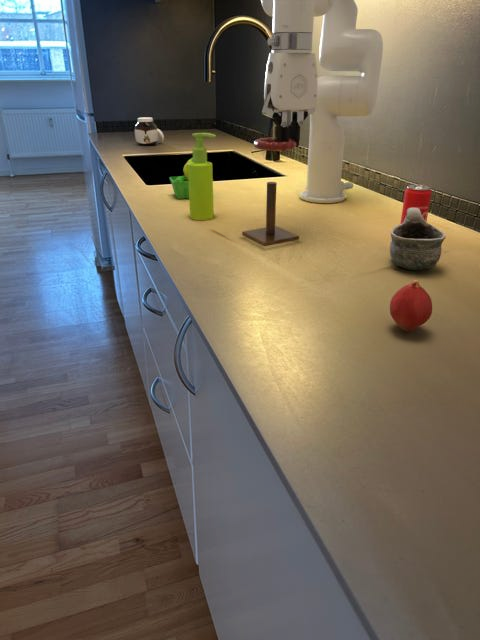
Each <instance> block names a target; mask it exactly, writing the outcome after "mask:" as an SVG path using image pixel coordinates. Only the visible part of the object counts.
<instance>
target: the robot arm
mask: <svg viewBox="0 0 480 640" xmlns="http://www.w3.org/2000/svg"><path fill="white" fill-rule="evenodd" d="M260 2H261V3H260V4H261V6H262V10H263V11H264V13H265V14H266V15H267V16H269V17H270V18H272V34H271V36H268V38H267V41H266V42H267V45H268V46H271V52H269V54H268V58H267V63H266V69H265V78H264V89H263V93H264V94H263V102H264V103H263V106H262V110H261V114H262V115H264V116H265V117H268V118H269V119H270V120H271V121H272V122H273V126H275V127H276V134H275V135H276V142H288V140H289V139H293V140H294V141H295V142H296V147H295V148H299V147H300V141H301V140H300V139H301V127H302V126H303V125H304V122H305V121H306V119H307V118H308V117H309V136H308V151H307V152H308V155H307V171H306V187H305V190H303V191H301V193H300V199H301V200H303V201H305V202H310V203H315V204H336V203H340V202H343V201H345V200H346V194H345V193H344V191H345V190H353V188H354V183H353V182H352V181H348V182H344V181H342V174H343V164H344V163H343V162H344V152H345V151H344V150H345V140H346V133H345V129H344V127H343V124H342V123H341V122H340V120H339V119H338V117H367V116H370V115H371V114H372V113H373V112H374V110H375V107H376V103H377V98H378V90H379V82H380V75H381V68H382V60H383V51H384V43H383V37H382V35H381V33H380V31H379V30H376V29H374V28H373V29H372V28H356V27H357V20H358V13H359V11H358V10H359V9H358V5H357V4H356V1H355V0H260ZM315 17H322V23H321V24H322V25H321V31H320V33H321V34H320V39H319V49H318V50H319V51H318V63H319V66H320V68H321V69H323V70H325V71H328V72H358V73H360V74H361V75H333V74H332V75H330V74H329V75H321V76H318V65H317V57H316V52H315V53H314V52H312V51H313V35H314V34H313V33H314V18H315ZM288 111H290V124H288ZM287 124H288V126H287Z"/></svg>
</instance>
